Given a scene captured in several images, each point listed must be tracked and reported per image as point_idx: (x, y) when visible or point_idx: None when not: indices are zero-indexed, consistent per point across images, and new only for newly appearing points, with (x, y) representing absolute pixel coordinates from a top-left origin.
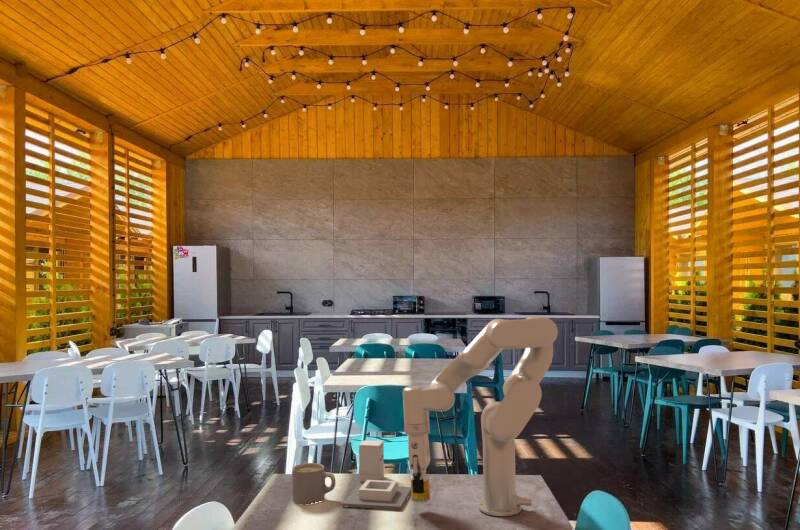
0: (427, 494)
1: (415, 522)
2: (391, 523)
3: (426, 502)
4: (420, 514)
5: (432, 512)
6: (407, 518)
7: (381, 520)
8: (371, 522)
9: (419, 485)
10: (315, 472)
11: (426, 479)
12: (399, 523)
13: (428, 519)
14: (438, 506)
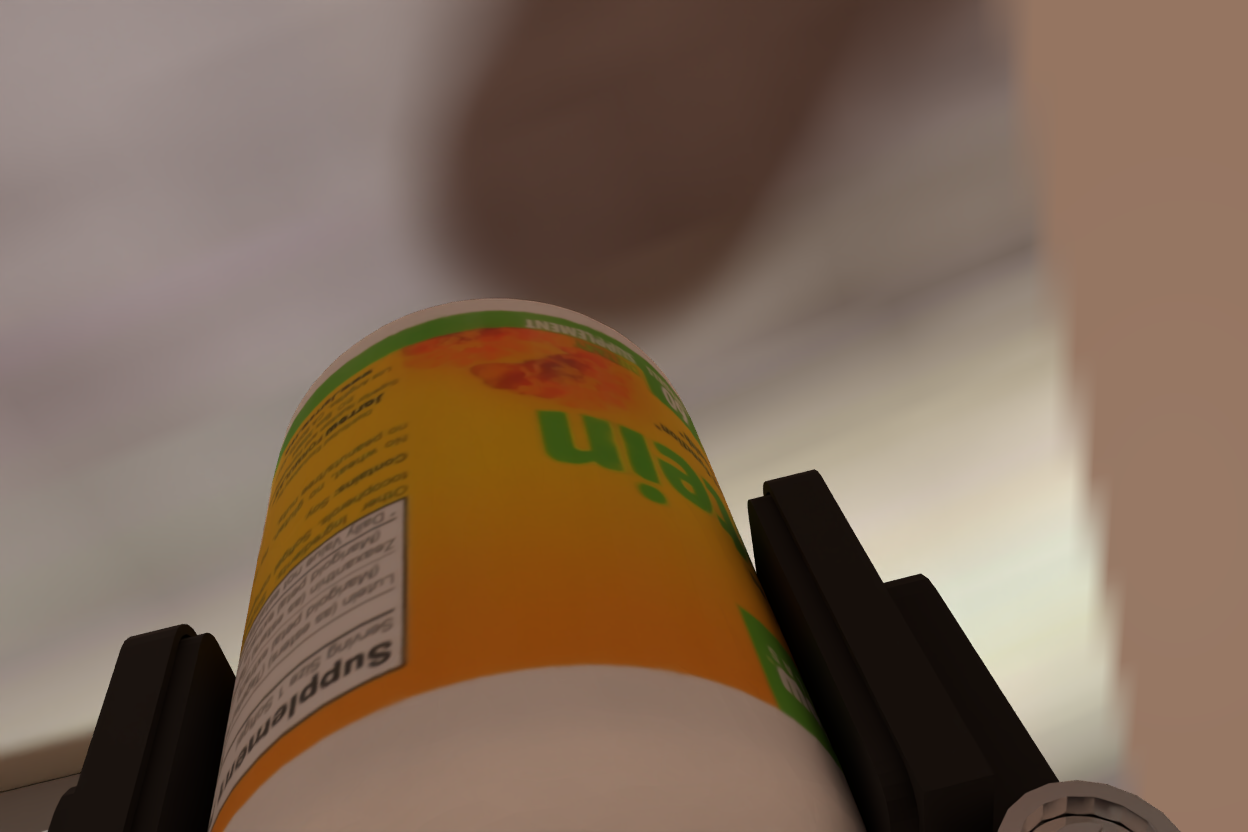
0: (592, 388)
1: (1001, 256)
2: (1092, 548)
3: (588, 320)
4: (617, 324)
5: (426, 155)
6: (857, 439)
7: (1006, 693)
8: (1090, 752)
9: (987, 689)
10: None
11: (693, 709)
12: (1078, 457)
13: (813, 91)
14: (22, 164)
